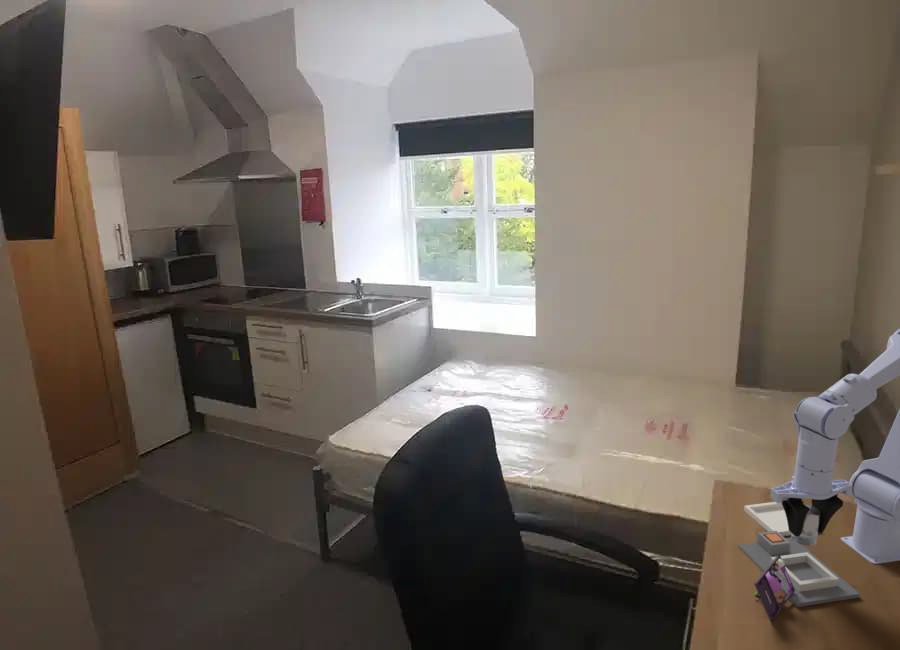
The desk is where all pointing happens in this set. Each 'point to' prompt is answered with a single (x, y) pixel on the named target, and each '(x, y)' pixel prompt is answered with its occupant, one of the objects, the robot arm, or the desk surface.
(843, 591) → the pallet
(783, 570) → the eggplant monster toy
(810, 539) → the cylinder
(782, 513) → the tray
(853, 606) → the desk surface
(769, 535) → the button
